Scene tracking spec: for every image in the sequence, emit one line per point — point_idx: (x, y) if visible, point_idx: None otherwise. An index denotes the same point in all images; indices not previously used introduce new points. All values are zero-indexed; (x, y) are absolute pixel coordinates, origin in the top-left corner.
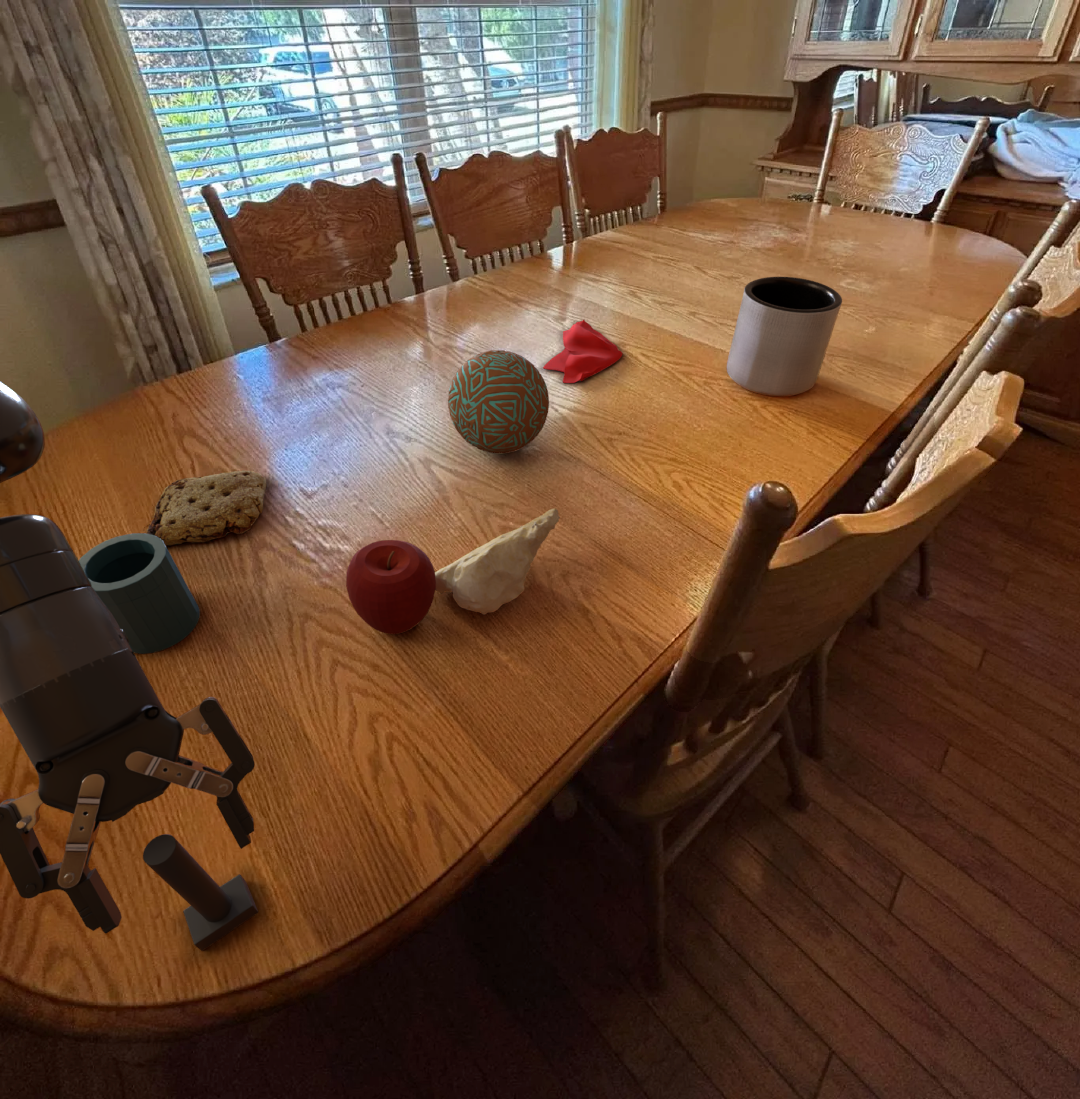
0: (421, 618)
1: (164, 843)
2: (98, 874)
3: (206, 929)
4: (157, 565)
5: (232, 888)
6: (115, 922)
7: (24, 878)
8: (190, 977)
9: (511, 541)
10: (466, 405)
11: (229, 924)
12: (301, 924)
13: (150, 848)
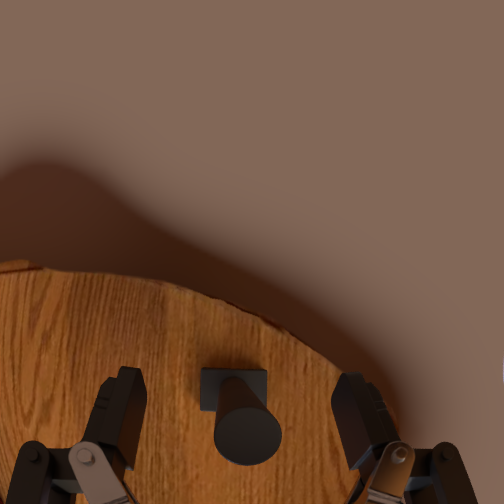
0: None
1: (235, 443)
2: (348, 459)
3: (251, 377)
4: None
5: (212, 401)
6: (343, 378)
7: (454, 469)
8: (280, 353)
9: None
10: None
11: (230, 369)
12: (172, 326)
13: (263, 449)
